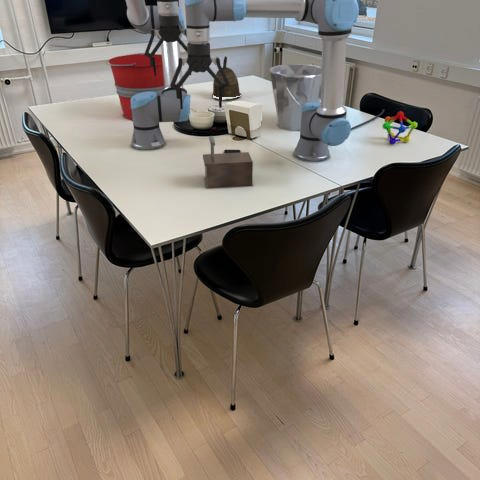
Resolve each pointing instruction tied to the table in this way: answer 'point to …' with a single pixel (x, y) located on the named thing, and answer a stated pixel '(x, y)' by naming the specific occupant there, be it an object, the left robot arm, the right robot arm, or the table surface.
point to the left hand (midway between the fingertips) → (172, 75)
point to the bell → (234, 86)
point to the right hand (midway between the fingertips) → (201, 107)
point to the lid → (225, 157)
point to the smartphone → (231, 151)
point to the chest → (229, 175)
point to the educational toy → (398, 128)
